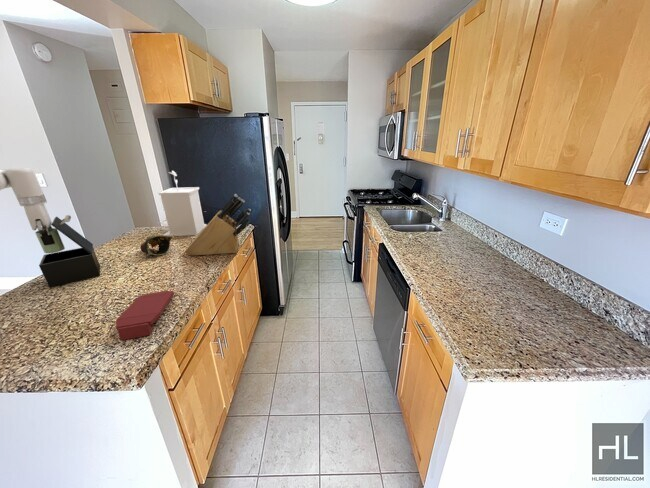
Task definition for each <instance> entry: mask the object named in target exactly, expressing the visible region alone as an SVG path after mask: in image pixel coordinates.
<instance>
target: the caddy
mask: <svg viewBox="0 0 650 488" xmlns="http://www.w3.org/2000/svg"><path fill="white" fill-rule="evenodd" d="M38 267H39V269H40V271H41V273H42V275H43V277H44V280H45V281H46V283H47V286H48V288H49V289H53V288H56V287H62V286H65V285H70V284H74V283H77V282H81V281H86V280H89V279H90V280H91V279H93V278H98V277H101V265H100V262H99V260H98V257H97V254H96V251H95V248H93V253H92V254H90V253H88V252H87V251H86V250H84V249H83V248H82V247H77V248H72V249H67V250H62V251H59V252H55V253H45V254H43V256H42V258H41V260H40V262H39V264H38Z"/></svg>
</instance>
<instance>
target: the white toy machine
mask: <svg viewBox="0 0 650 488" xmlns="http://www.w3.org/2000/svg"><path fill="white" fill-rule="evenodd" d="M167 173H168V174H171V176H172V175H173V180H174V183H175V186H176V187H170V188H167V189H165V190H162V191H159V192H158V196H160V199H161V203H162V206H163V207H162V208H163V211H164V215H165V218H164V219H162V220H160V221H159V222H158V224H160V225H164V226H167V227H168V230H167V231H166V232H165V233H163V234H162V236H171V235H174V236H173V237H183V236H185V237H186V236H198V235H199V234H200V233H201V231H202V230H203V229H204V228H205V227H206V226H207V223H205V219H204V216H203V210H202V206H201V205H202V204H201V200H200V194H199V190H200V186H194V187H193V186H190V187H185V186H184V187H178V179H176V177H178V174H177V172H175V170H171V171H168V172H167ZM164 222H167V223H166V224H165V223H164Z"/></svg>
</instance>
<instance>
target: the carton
mask: <svg viewBox="0 0 650 488" xmlns="http://www.w3.org/2000/svg"><path fill="white" fill-rule="evenodd" d="M174 295H175V292H174V290H163V291H156V292H150V293H145V294H141V295H138V296H137V297H136V298H135V299H134V301H132V302H131V304H130V305H129V306H128V307H127V308H126V309H125V310H124V311H123V312H122V313H121V314H120V315H119V316H118V317H117V319H116V321H115V328H116V331H117V333H118V337H119V341H125V340H131V339H136V338H141V337H147V336H151V334H153V329H152V325H154V323H155V322H157V320H158V319H159V318H160V317H161V316H162V314H163V312H164V310H166V307H167V306H168V305H169V303H170V301H171V300H172V299H173V297H174Z"/></svg>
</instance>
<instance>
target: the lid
mask: <svg viewBox="0 0 650 488" xmlns="http://www.w3.org/2000/svg"><path fill="white" fill-rule="evenodd" d="M71 219H72V216H71V215H70V214H67V215H65V216H64V218H63V219H61V218H59V216H55V217H54V218H53V221H51V222H52V224H51V227H52V228H56V229H57V230H58V232H60V233H61V234H63V235H64V236H65V237H67V238H68V239H69V240H70V241H72V242H74V243H75V244H76V245H78V246H79V248H83V249H84V250H86V251H87V252H88V253H90V254H92V253H93V249H94V244H93V243H92V242H91V241H90V240H88V239H87V238H85V237H84V236H83V235H82V234H80V232H78V231H77V230H75V229H74V228H73V227H71V226H70V225H69V224H68V223H69V222H70V221H71Z"/></svg>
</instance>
